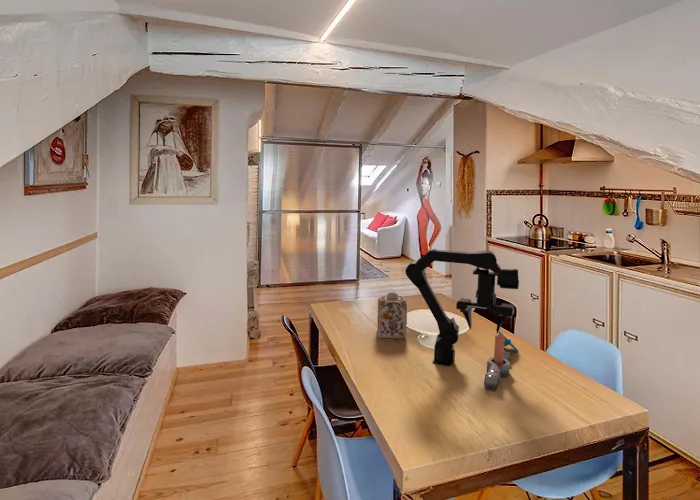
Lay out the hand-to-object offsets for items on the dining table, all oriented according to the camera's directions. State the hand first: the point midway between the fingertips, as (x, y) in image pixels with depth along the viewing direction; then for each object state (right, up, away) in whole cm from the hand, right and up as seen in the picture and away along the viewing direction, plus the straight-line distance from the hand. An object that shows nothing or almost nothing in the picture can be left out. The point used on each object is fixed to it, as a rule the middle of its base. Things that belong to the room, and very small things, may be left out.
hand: (483, 330), depth 149 cm
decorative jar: (-29, -8, +34) cm, 46 cm away
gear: (+14, -11, +16) cm, 24 cm away
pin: (+4, -14, -3) cm, 15 cm away
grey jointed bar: (+4, -14, -3) cm, 15 cm away
